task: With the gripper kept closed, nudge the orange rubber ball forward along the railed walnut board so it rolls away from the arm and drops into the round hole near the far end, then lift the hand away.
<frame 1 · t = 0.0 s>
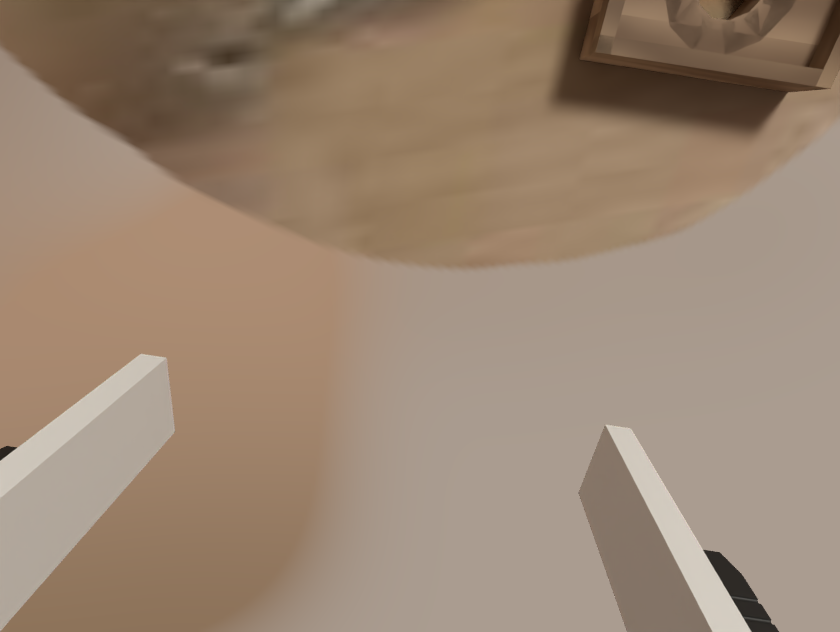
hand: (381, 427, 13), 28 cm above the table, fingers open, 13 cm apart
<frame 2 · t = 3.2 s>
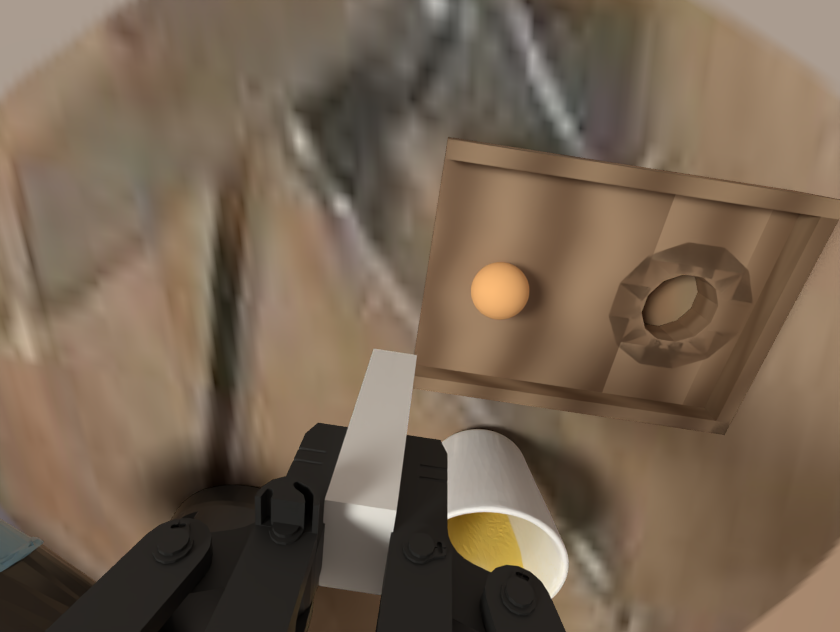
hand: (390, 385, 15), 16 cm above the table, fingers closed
ball: (499, 290, 27), point 4 cm above the table, touching board
mug: (466, 467, 38), on the table
board: (584, 283, 31), on the table
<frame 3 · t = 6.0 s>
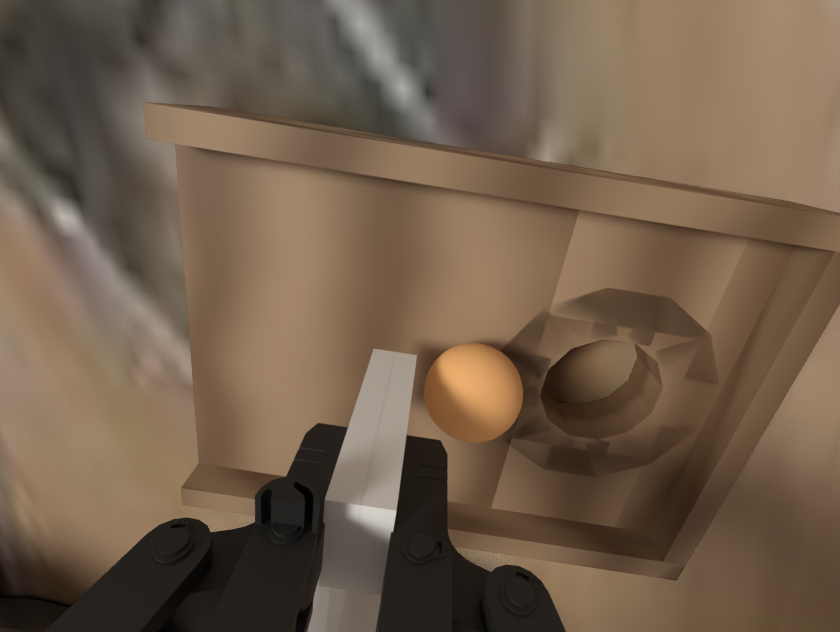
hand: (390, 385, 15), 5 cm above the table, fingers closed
ball: (472, 391, 16), point 4 cm above the table, tilted 143°, touching board
mug: (327, 582, 27), on the table
board: (462, 341, 20), on the table
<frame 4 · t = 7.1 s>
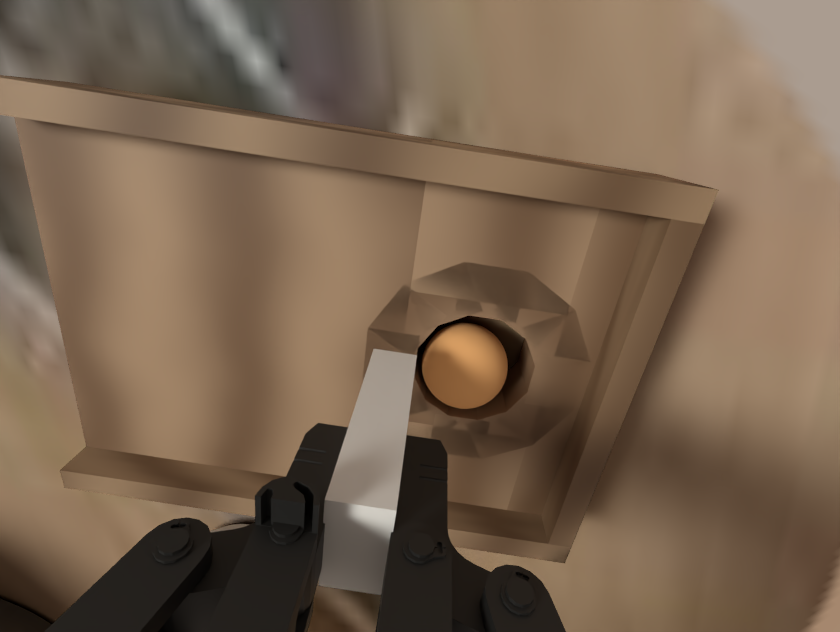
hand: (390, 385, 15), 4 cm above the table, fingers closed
ball: (464, 365, 18), point 2 cm above the table, tilted 53°
board: (348, 322, 19), on the table
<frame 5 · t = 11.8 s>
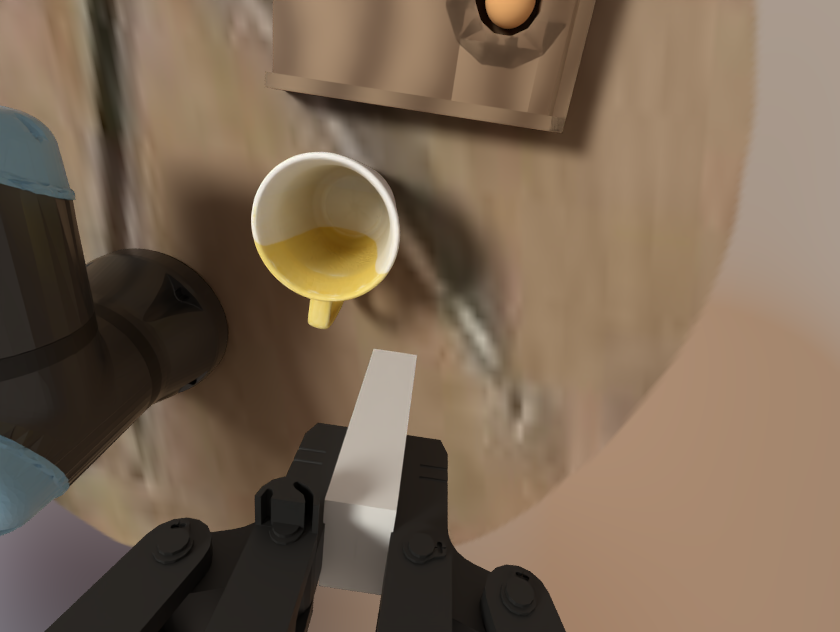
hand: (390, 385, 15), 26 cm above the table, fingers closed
mug: (348, 222, 40), on the table
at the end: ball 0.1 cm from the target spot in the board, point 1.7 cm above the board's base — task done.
